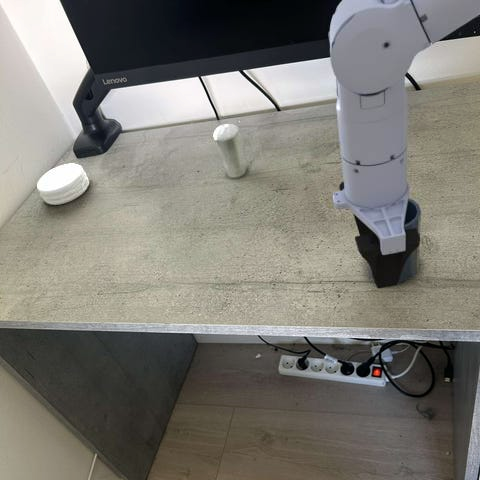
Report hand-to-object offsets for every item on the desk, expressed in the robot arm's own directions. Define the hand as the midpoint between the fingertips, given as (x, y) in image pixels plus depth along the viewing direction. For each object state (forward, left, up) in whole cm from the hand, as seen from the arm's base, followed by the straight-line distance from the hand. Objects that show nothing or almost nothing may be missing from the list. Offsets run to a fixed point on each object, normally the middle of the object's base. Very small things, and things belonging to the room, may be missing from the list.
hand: (378, 260), depth 53 cm
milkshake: (+20, -39, -10) cm, 45 cm away
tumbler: (-3, -9, -10) cm, 13 cm away
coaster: (+57, -44, -10) cm, 73 cm away
